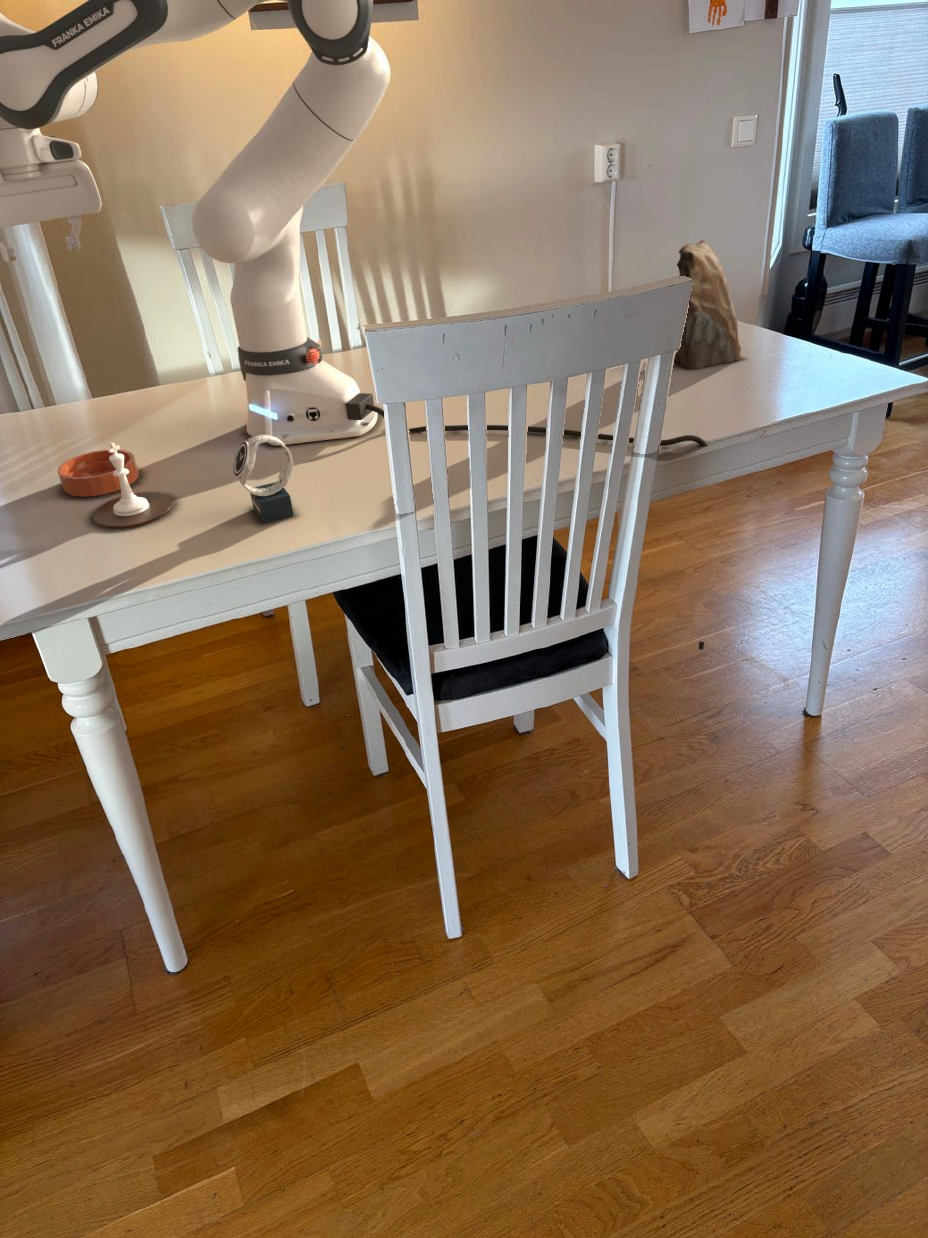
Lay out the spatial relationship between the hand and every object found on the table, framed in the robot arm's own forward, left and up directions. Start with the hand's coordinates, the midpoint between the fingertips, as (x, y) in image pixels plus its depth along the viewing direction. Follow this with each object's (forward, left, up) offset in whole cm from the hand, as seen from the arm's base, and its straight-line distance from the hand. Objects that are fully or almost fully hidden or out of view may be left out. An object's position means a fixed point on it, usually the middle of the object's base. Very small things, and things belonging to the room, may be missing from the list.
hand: (43, 255), depth 134 cm
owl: (-105, -33, -31) cm, 114 cm away
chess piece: (-14, +24, -31) cm, 41 cm away
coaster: (-14, +24, -31) cm, 41 cm away
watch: (-35, +26, -31) cm, 54 cm away
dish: (-5, +13, -31) cm, 34 cm away
